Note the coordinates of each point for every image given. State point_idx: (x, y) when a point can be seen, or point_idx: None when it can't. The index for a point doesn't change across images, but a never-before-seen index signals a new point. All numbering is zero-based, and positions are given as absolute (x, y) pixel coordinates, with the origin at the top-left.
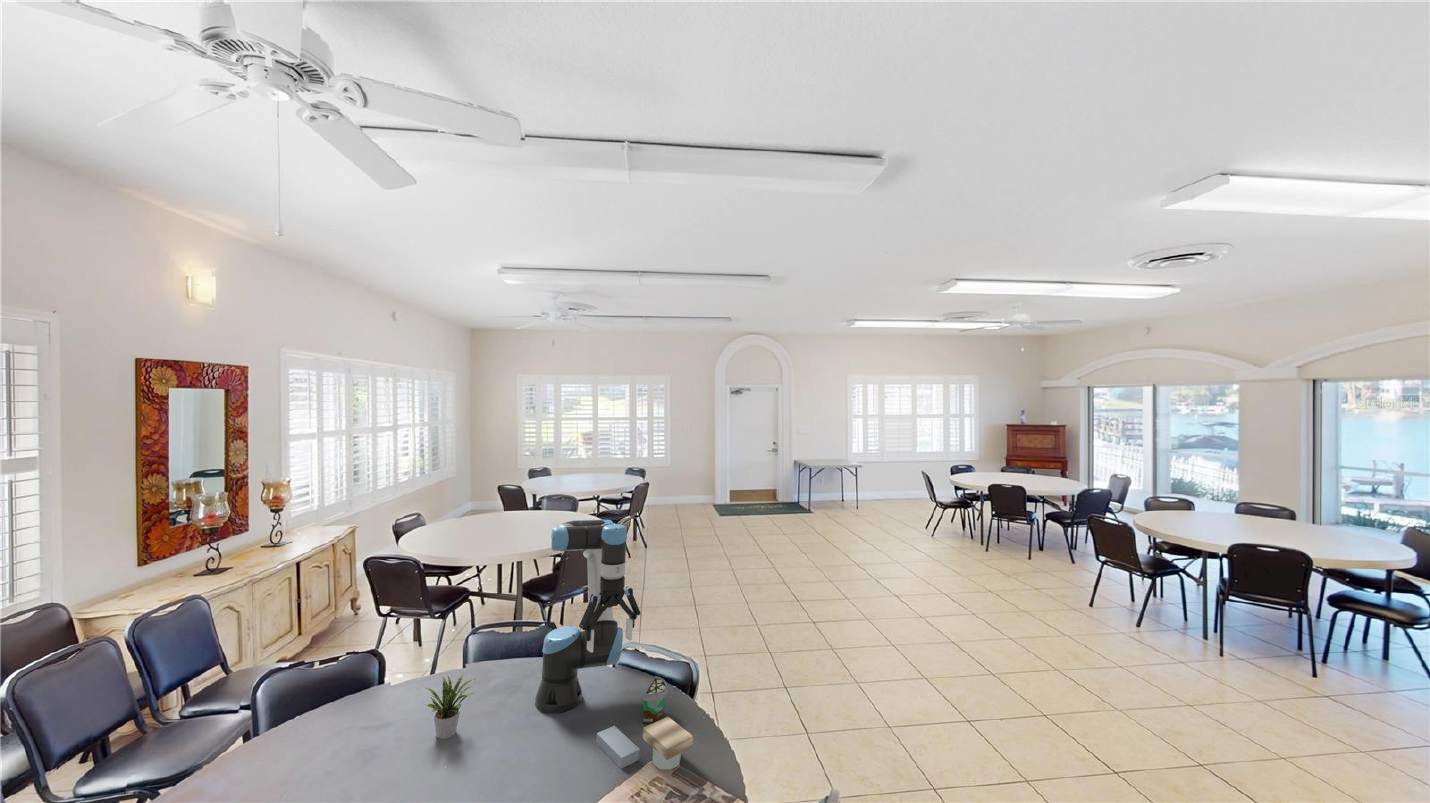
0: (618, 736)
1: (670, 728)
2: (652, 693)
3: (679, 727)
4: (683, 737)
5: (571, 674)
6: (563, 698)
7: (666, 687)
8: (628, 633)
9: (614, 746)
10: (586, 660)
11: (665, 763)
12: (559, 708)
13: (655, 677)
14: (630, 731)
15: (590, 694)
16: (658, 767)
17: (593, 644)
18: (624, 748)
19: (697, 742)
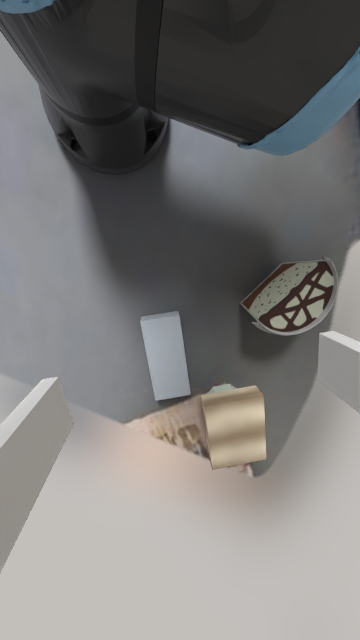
0: (173, 348)
1: (246, 428)
2: (278, 333)
3: (261, 431)
4: (250, 455)
5: (116, 111)
6: (102, 156)
7: (321, 316)
8: (346, 380)
9: (156, 370)
10: (163, 113)
11: None
12: (96, 168)
13: (329, 262)
14: (208, 313)
15: (191, 127)
16: None
17: (55, 460)
18: (169, 382)
19: (284, 388)
